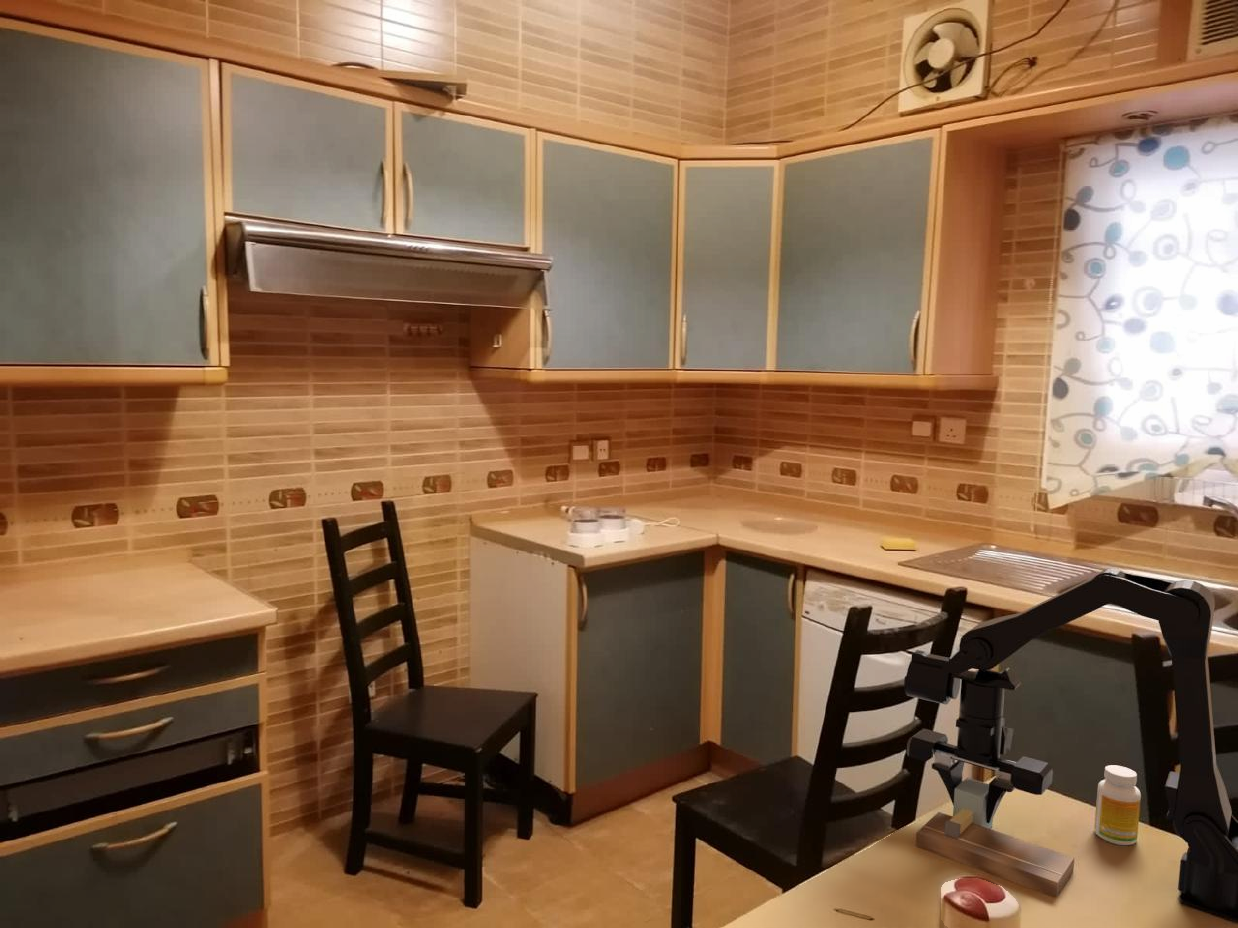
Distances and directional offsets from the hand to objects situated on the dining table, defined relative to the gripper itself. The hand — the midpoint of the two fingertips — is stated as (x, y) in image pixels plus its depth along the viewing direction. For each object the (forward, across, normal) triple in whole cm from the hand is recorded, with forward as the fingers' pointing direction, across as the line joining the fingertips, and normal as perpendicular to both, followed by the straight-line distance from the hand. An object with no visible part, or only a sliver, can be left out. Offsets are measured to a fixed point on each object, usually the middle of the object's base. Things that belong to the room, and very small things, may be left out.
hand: (973, 816), depth 129 cm
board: (+2, -5, +7) cm, 9 cm away
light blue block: (+1, 0, +3) cm, 4 cm away
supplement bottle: (+2, -16, -12) cm, 20 cm away
